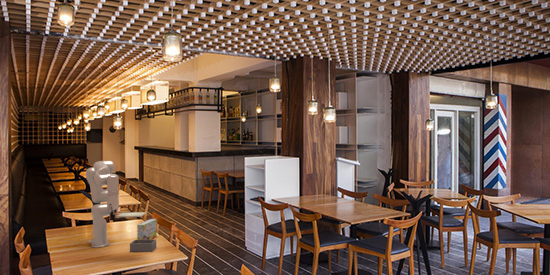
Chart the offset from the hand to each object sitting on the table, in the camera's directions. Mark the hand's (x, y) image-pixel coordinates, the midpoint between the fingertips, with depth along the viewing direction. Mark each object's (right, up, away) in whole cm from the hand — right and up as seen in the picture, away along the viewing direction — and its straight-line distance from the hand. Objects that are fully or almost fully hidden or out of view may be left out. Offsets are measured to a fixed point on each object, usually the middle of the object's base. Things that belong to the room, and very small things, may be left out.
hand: (113, 219), depth 274 cm
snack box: (+10, -25, +41) cm, 49 cm away
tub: (+15, -25, +16) cm, 34 cm away
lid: (+10, +1, 0) cm, 10 cm away
